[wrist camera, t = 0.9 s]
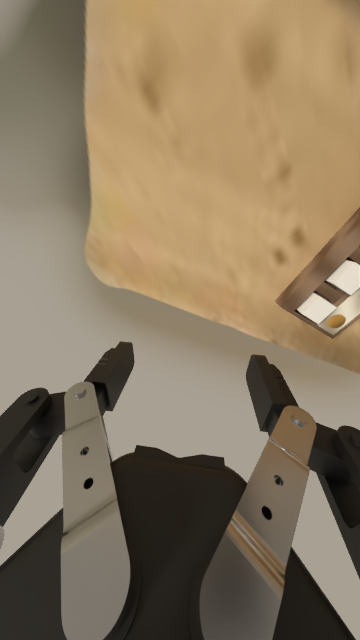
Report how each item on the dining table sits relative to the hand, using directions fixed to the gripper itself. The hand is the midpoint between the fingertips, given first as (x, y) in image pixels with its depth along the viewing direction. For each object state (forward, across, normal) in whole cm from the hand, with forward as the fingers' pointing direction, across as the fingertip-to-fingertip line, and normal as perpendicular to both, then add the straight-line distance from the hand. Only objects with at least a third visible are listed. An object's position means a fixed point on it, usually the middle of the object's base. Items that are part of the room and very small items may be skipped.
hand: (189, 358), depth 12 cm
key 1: (+22, -20, +4) cm, 30 cm away
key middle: (+22, -23, -2) cm, 32 cm away
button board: (+24, -24, -1) cm, 34 cm away
